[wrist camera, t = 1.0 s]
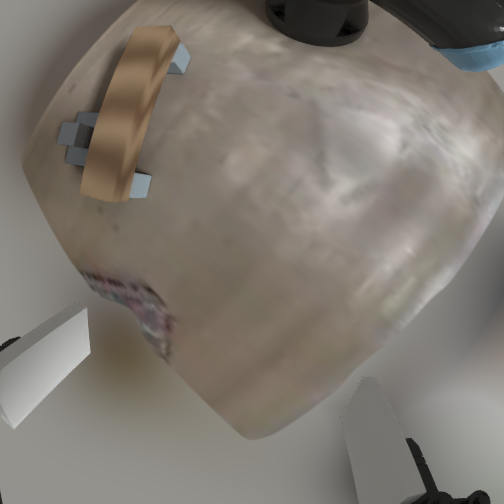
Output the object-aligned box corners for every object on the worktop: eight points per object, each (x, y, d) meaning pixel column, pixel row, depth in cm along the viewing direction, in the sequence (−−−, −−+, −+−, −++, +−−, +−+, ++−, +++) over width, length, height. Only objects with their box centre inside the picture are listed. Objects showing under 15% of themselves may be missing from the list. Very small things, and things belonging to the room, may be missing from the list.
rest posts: (154, 55, 29) (143, 43, 25) (190, 56, 29) (182, 43, 25) (111, 189, 34) (95, 188, 30) (146, 197, 34) (132, 198, 30)
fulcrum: (86, 114, 32) (58, 104, 25) (124, 117, 32) (98, 104, 25) (72, 163, 33) (43, 160, 26) (109, 170, 33) (80, 167, 26)
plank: (148, 40, 25) (136, 27, 21) (180, 40, 25) (170, 25, 21) (97, 193, 30) (79, 194, 26) (128, 201, 30) (110, 202, 26)
